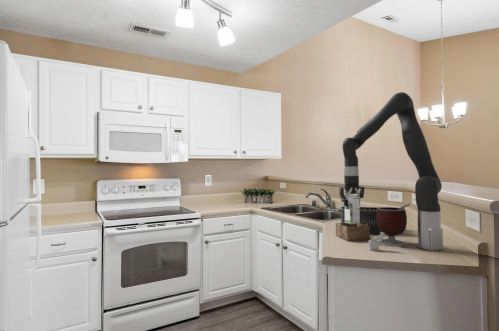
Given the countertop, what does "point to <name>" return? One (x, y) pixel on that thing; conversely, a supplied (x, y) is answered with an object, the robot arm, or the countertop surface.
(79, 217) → the countertop surface
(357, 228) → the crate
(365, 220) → the storage bin
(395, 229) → the mate gourd
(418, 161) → the robot arm
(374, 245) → the lighter
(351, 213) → the syrup box
